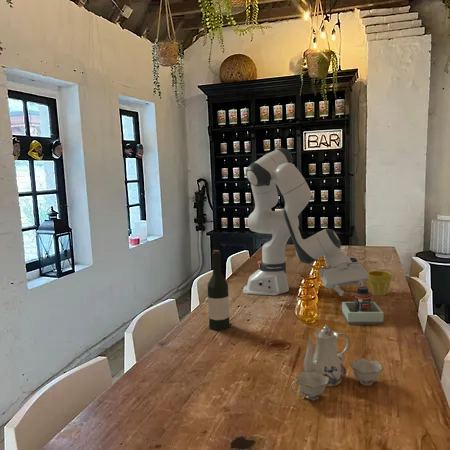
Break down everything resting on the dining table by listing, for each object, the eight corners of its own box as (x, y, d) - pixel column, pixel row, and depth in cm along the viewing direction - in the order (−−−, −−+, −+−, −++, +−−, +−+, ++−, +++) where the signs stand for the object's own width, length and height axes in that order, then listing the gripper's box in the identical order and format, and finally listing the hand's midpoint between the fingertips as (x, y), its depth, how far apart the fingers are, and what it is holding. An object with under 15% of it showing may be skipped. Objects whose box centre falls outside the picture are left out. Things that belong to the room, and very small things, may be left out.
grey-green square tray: (348, 324, 162) (348, 312, 161) (342, 312, 175) (342, 302, 174) (383, 324, 161) (383, 312, 160) (374, 312, 173) (374, 301, 173)
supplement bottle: (362, 319, 164) (362, 290, 162) (351, 314, 169) (351, 287, 167) (373, 316, 166) (374, 288, 165) (362, 311, 172) (362, 284, 170)
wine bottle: (233, 323, 167) (230, 248, 163) (226, 331, 160) (222, 253, 155) (213, 321, 170) (209, 248, 166) (205, 329, 162) (201, 252, 158)
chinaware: (308, 418, 106) (312, 358, 103) (273, 382, 121) (275, 328, 117) (391, 388, 118) (396, 334, 115) (349, 359, 133) (353, 310, 129)
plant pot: (366, 296, 194) (367, 275, 193) (367, 290, 204) (367, 270, 202) (391, 297, 191) (391, 276, 189) (390, 291, 200) (391, 271, 199)
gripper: (319, 263, 175) (333, 293, 167) (361, 258, 181) (376, 286, 174) (314, 272, 180) (327, 301, 172) (355, 265, 186) (369, 293, 179)
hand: (352, 293), depth 173 cm, fingers open, 8 cm apart
